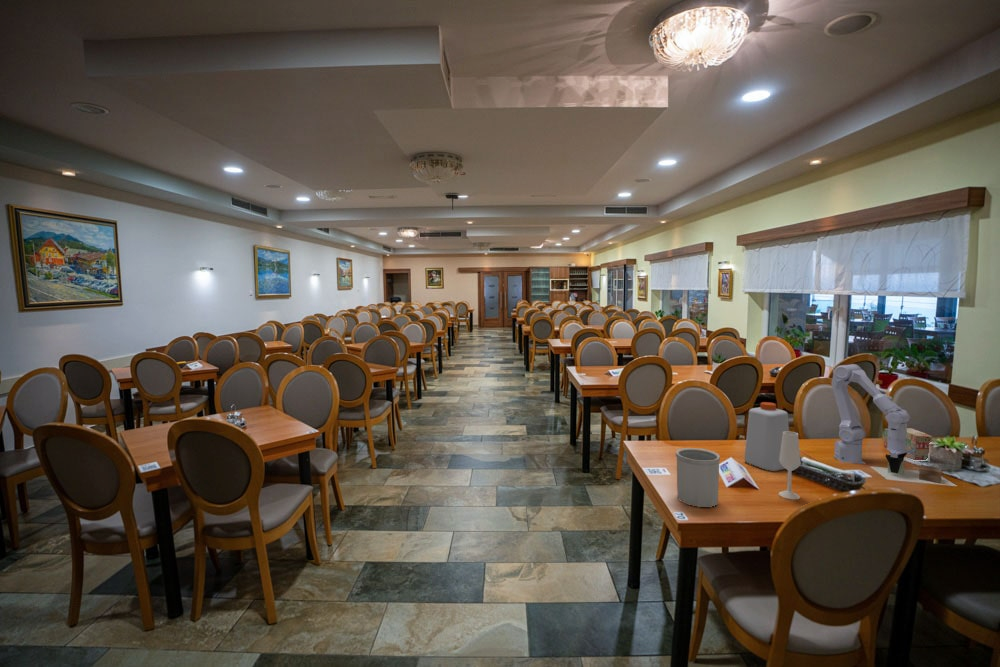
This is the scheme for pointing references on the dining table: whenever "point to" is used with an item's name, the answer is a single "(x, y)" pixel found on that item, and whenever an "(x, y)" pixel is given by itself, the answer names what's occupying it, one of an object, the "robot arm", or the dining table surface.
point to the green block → (901, 469)
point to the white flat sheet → (908, 476)
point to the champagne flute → (789, 459)
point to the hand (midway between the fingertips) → (895, 470)
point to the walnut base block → (930, 474)
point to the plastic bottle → (765, 436)
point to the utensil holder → (698, 476)
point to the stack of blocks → (914, 444)
